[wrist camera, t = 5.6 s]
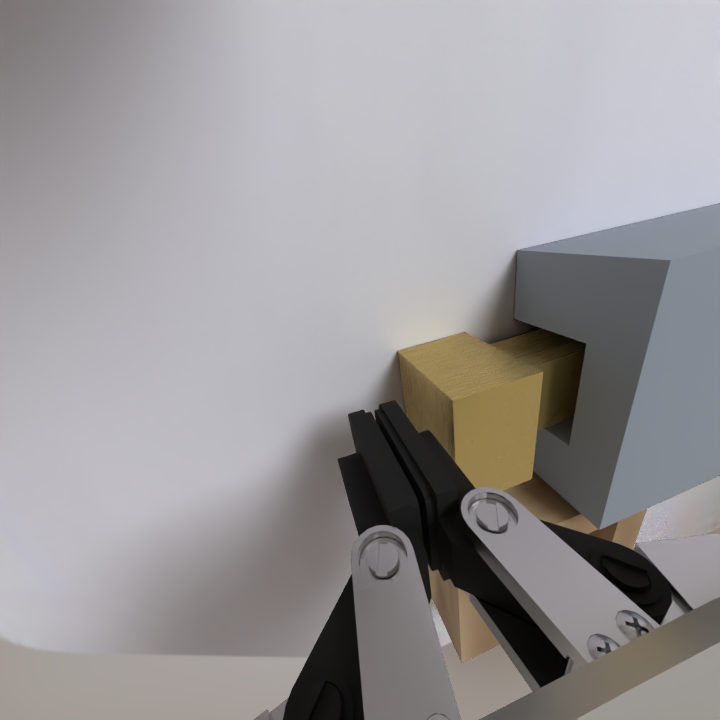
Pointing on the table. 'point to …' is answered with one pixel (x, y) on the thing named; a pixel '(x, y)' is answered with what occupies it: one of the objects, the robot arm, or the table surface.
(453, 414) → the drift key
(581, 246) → the socket block
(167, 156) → the table surface
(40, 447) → the table surface
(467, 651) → the tan slotted block
